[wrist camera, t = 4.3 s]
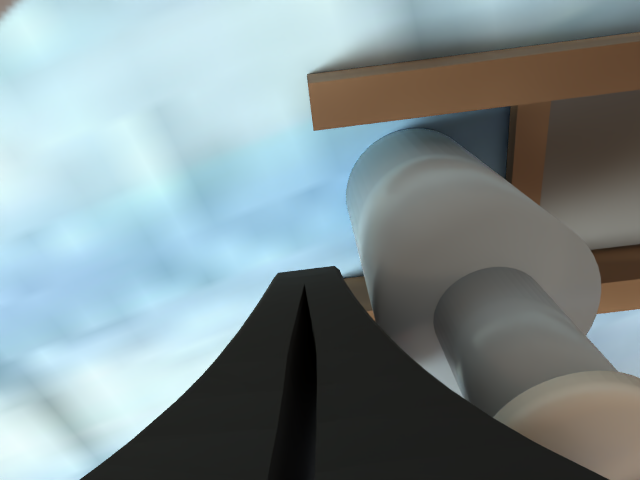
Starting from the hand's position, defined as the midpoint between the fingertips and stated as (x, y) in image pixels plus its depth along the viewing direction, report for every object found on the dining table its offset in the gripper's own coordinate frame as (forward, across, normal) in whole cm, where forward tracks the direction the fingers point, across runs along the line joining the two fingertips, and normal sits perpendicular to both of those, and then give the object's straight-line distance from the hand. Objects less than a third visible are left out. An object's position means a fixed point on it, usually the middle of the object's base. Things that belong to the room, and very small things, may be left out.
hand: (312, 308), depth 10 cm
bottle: (+6, -4, 0) cm, 7 cm away
